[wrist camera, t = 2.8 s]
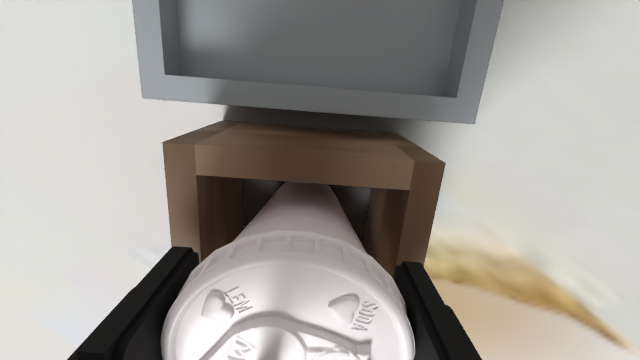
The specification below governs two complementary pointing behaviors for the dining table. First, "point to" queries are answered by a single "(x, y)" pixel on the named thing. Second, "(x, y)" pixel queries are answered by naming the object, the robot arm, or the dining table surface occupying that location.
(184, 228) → the deep holder
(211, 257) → the smoothie
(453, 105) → the slate tray
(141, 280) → the robot arm
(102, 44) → the dining table surface
